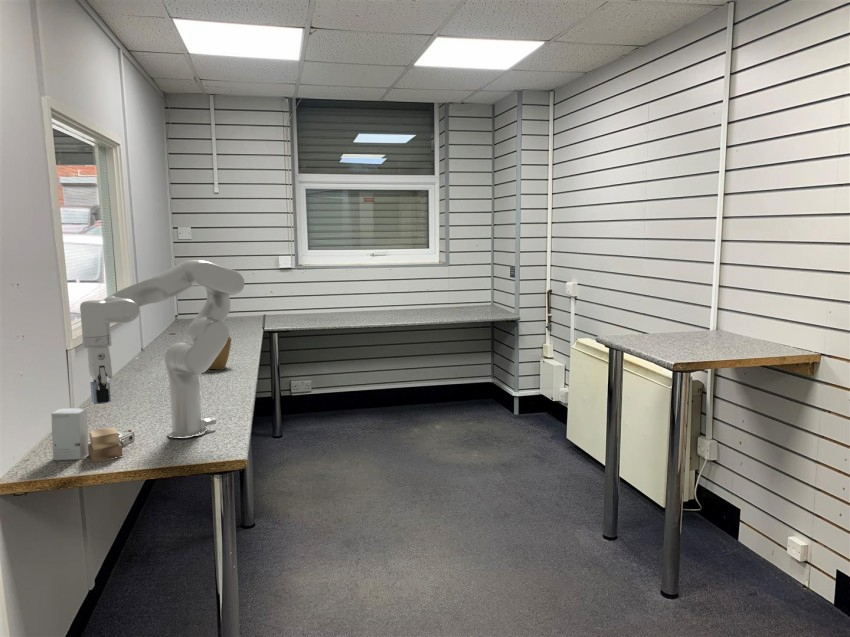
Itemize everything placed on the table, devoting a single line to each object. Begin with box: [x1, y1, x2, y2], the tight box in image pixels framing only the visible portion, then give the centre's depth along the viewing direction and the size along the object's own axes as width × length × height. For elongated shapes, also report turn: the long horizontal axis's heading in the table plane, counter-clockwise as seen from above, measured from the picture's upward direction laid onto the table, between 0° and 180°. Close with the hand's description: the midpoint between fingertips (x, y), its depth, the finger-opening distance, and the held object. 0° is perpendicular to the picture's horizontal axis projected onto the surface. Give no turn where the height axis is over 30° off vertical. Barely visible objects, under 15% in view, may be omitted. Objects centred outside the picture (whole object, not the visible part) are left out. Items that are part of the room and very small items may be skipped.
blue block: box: [89, 380, 112, 405], centre depth 181 cm, size 4×4×6 cm
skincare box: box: [51, 407, 89, 461], centre depth 183 cm, size 8×6×15 cm
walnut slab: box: [88, 441, 123, 464], centre depth 184 cm, size 8×8×4 cm
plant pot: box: [208, 336, 232, 370], centre depth 305 cm, size 15×15×16 cm
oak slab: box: [89, 426, 120, 450], centre depth 183 cm, size 7×7×4 cm
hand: (101, 399), depth 181 cm, fingers closed on blue block, 4 cm apart
